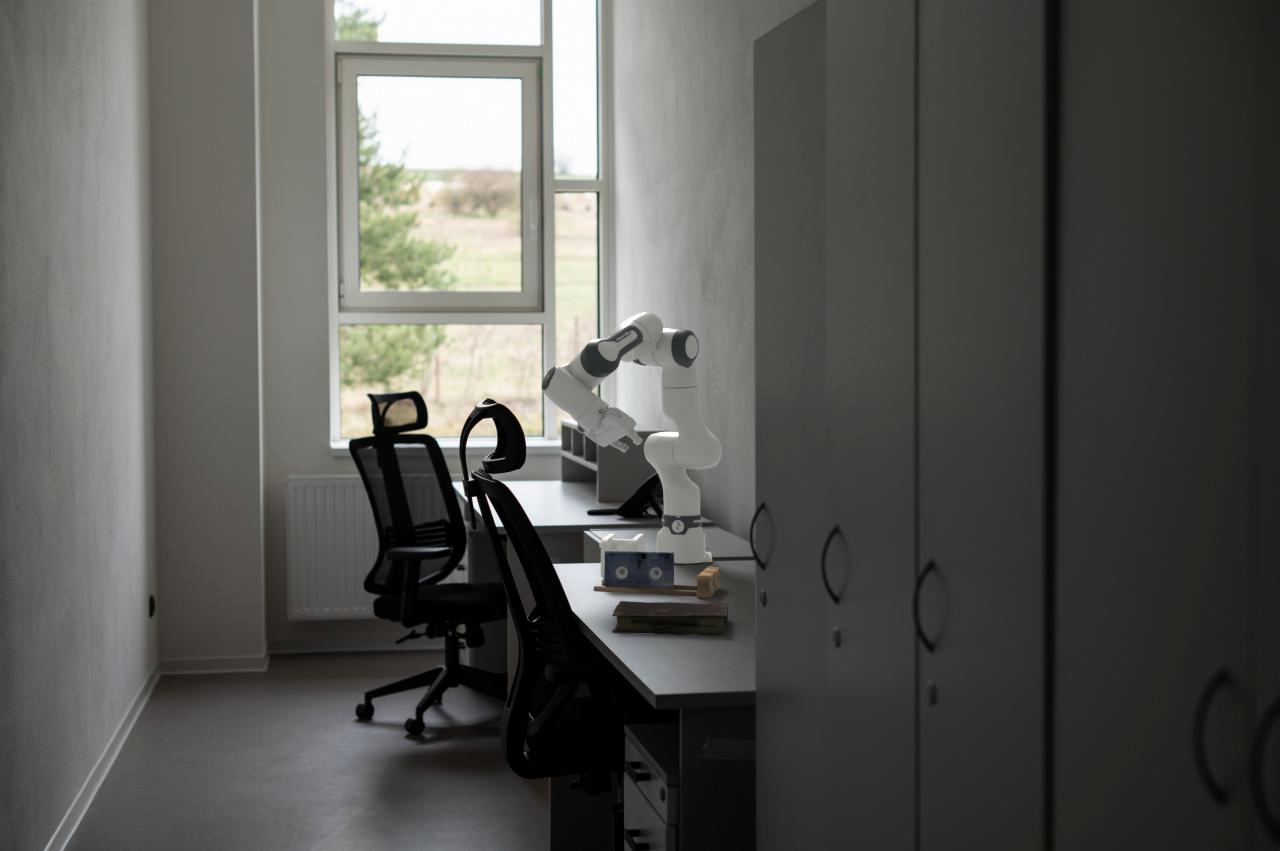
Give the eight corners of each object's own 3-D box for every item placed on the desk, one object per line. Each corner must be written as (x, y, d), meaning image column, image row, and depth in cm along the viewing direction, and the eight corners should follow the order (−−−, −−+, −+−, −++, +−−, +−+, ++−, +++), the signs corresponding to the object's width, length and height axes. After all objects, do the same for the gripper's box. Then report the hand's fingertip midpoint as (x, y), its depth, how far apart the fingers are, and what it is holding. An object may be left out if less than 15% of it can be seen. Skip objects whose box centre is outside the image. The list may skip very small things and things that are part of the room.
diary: (620, 620, 294) (620, 599, 294) (727, 623, 292) (727, 601, 292) (611, 635, 276) (611, 612, 276) (726, 638, 274) (726, 615, 274)
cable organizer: (636, 582, 343) (637, 539, 343) (598, 581, 345) (598, 538, 344) (645, 573, 358) (645, 532, 358) (608, 572, 360) (608, 531, 359)
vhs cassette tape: (674, 589, 333) (674, 551, 332) (673, 591, 330) (674, 553, 330) (604, 588, 334) (605, 550, 334) (603, 590, 331) (603, 552, 331)
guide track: (606, 582, 342) (606, 561, 342) (719, 587, 335) (719, 566, 335) (590, 592, 327) (590, 570, 326) (709, 598, 320) (709, 576, 319)
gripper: (614, 396, 327) (655, 429, 329) (586, 414, 345) (625, 445, 347) (601, 414, 324) (642, 447, 326) (574, 431, 342) (613, 462, 345)
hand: (633, 446), depth 337 cm, fingers open, 8 cm apart
